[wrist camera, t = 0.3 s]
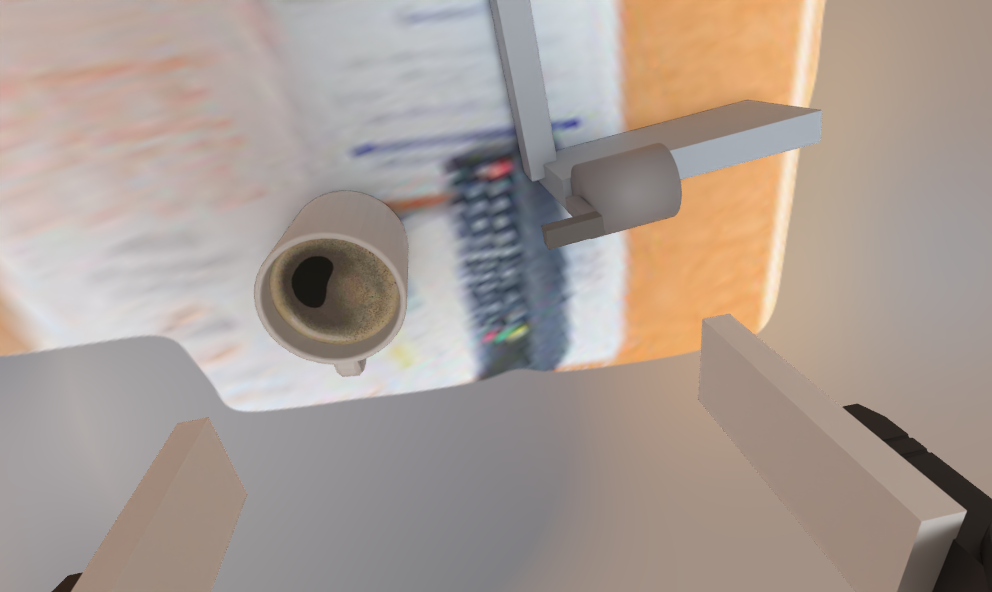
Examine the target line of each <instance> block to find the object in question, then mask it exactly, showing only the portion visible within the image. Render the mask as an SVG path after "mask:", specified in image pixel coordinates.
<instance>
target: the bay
mask: <svg viewBox="0 0 992 592" xmlns="http://www.w3.org/2000/svg"><path fill="white" fill-rule="evenodd" d="M489 1H490V6H491V11H492V16H493V21H494V26H495V30H496V35H497V40H498V45H499V50H500V55H501V60H502V65H503V70H504V75H505V80H506V85H507V90H508V95H509V100H510V105H511V109H512V114H513V119H514V124H515V129H516V134H517V139H518V144H519V149H520V154H521V159H522V164H523V169H524V173H525V174H526V175H527V176H528V177H529V178H530V179H531V180H532V181H536V180H539V182H540V183H541V184H542V185H543V186H544V187H545V188H546V189H547V190H548V191H549V192H550V193H551V194H552V195H553V196H554V197H555V198H556V200H557V201H558V202H559V203H560V204H561V205H562V206H563V207H564V208H565V209H566V210H567V211H568V212H569V213H570V214H571V215H572V216H573V217H572V218H568V219H564V220H560V221H557V222H553V223H549V224H546V225H542V226H541V227H542V232H543V237H544V242H545V244H546V246H547V247H548V249H549V250H550V249H553V248H557V247H561V246H564V245H568V244H572V243H575V242H579V241H583V240H586V239H593V238H597V237H600V236H604V235H608V234H611V233H615V232H619V231H622V230H626V229H630V228H633V227H637V226H641V225H644V224H648V223H652V222H656V221H659V220H663V219H667V218H670V217H674V216H675V215H676V214H677V213H678V211H679V209H680V205H681V197H682V191H681V181H680V180H681V179H685V178H689V177H693V176H696V175H700V174H704V173H707V172H711V171H715V170H719V169H722V168H726V167H730V166H733V165H737V164H741V163H745V162H748V161H752V160H756V159H759V158H763V157H767V156H771V155H774V154H778V153H782V152H785V151H789V150H793V149H797V148H800V147H804V146H808V145H811V144H815V143H819V142H820V137H821V122H822V110H817V109H810V108H803V107H796V106H788V105H781V104H774V103H766V102H759V101H752V100H745V101H741V102H737V103H734V104H730V105H726V106H722V107H719V108H715V109H711V110H707V111H703V112H700V113H696V114H692V115H688V116H685V117H681V118H677V119H673V120H670V121H666V122H662V123H658V124H654V125H651V126H647V127H643V128H639V129H636V130H632V131H628V132H624V133H621V134H617V135H613V136H609V137H605V138H602V139H598V140H594V141H590V142H587V143H583V144H579V145H575V146H572V147H568V148H564V149H560V150H557V151H555V146H554V140H553V134H552V128H551V122H550V116H549V110H548V105H547V99H546V93H545V87H544V81H543V75H542V69H541V64H540V58H539V52H538V46H537V40H536V34H535V28H534V23H533V17H532V11H531V5H530V0H489Z"/></svg>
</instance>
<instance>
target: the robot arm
mask: <svg viewBox="0 0 992 592" xmlns="http://www.w3.org/2000/svg"><path fill="white" fill-rule="evenodd" d="M698 400H699V401H700V402H701V404H702V405H703V406H704V407H705V409H706V410H707V411H708V412H709V413H710V415H711V416H712V417H713V418H714V420H715V421H716V422H717V423H718V424H719V426H720V427H721V428H722V429H723V431H724V432H725V433H726V434H727V435H728V437H729V438H730V439H731V440H732V441H733V443H734V444H735V445H736V446H737V448H738V449H739V450H740V451H741V453H742V454H743V455H744V456H745V457H746V459H747V460H748V461H749V462H750V464H751V465H752V466H753V467H754V468H755V470H756V471H757V472H758V473H759V474H760V476H761V477H762V478H763V479H764V481H765V482H766V483H767V484H768V486H769V487H770V488H771V489H772V490H773V491H774V493H775V494H776V495H777V496H778V498H779V499H780V500H781V501H782V502H783V504H784V505H785V506H786V507H787V509H788V510H789V511H790V512H791V514H792V515H793V516H794V517H795V518H796V520H797V521H798V522H799V523H800V525H801V526H802V527H803V528H804V529H805V531H806V532H807V533H808V534H809V536H810V537H811V538H812V539H813V540H814V542H815V543H816V544H817V545H818V546H819V548H820V549H821V550H822V551H823V553H824V554H825V555H826V556H827V557H828V559H829V560H830V561H831V562H832V564H833V565H834V566H835V567H836V568H837V570H838V571H839V572H840V573H841V575H842V576H843V577H844V578H845V579H846V581H847V582H848V583H849V584H850V586H851V587H852V588H853V589H854V591H855V592H992V499H991V498H990V497H989V496H987V495H986V494H985V493H983V492H982V491H981V490H980V489H978V488H977V487H976V486H974V485H973V484H972V483H970V482H969V481H968V480H967V479H965V478H964V477H963V476H961V475H960V474H959V473H958V472H956V471H955V470H954V469H952V468H951V467H950V466H949V465H947V464H946V463H945V462H943V461H942V460H941V459H940V458H938V457H937V456H935V455H934V454H933V453H929V452H928V451H927V449H926V448H925V447H924V446H923V445H921V444H920V443H919V442H917V441H916V440H915V439H914V438H909V436H908V434H907V433H906V432H904V431H903V430H902V429H901V428H899V427H898V426H897V425H896V424H894V423H893V422H892V421H890V420H889V419H888V418H886V417H885V416H883V415H880V414H879V413H876V412H874V411H872V410H870V409H868V408H866V407H864V406H861V405H859V404H853V405H848V406H844V407H841V406H840V405H839V404H838V403H836V402H835V401H834V400H833V399H832V398H830V397H829V396H828V395H827V394H826V393H824V392H823V391H822V390H821V389H820V388H818V387H817V386H816V385H815V384H814V383H812V382H811V381H810V380H809V379H807V378H806V377H805V376H804V375H803V374H801V373H800V372H799V371H798V370H797V369H795V368H794V367H793V366H792V365H791V364H789V363H788V362H787V361H786V360H785V359H783V358H782V357H781V356H780V355H779V354H777V353H776V352H775V351H774V350H773V349H771V348H770V347H769V346H768V345H766V344H765V343H764V342H763V341H762V340H760V339H759V338H758V337H757V336H756V335H754V334H753V333H752V332H751V331H750V330H748V329H747V328H746V327H745V326H744V325H742V324H741V323H740V322H739V321H738V320H736V319H735V318H734V317H733V316H732V315H730V314H726V315H721V316H716V317H710V318H705V319H703V321H702V339H701V358H700V376H699V394H698ZM246 497H247V493H246V491H245V489H244V487H243V485H242V483H241V481H240V479H239V477H238V475H237V473H236V471H235V469H234V467H233V465H232V463H231V461H230V459H229V457H228V455H227V453H226V451H225V449H224V447H223V445H222V443H221V441H220V439H219V437H218V435H217V433H216V431H215V429H214V427H213V425H212V423H211V421H210V419H209V418H208V417H207V418H202V419H197V420H192V421H188V422H182V423H178V424H177V425H176V427H175V428H174V430H173V431H172V433H171V435H170V436H169V438H168V440H167V441H166V443H165V444H164V446H163V448H162V449H161V450H160V452H159V454H158V455H157V457H156V458H155V460H154V461H153V463H152V465H151V466H150V468H149V469H148V471H147V473H146V474H145V476H144V477H143V479H142V480H141V482H140V483H139V485H138V487H137V488H136V490H135V491H134V493H133V495H132V496H131V498H130V499H129V501H128V502H127V504H126V506H125V507H124V509H123V510H122V512H121V513H120V515H119V517H118V518H117V520H116V521H115V523H114V524H113V526H112V528H111V530H110V531H109V532H108V534H107V536H106V537H105V539H104V540H103V542H102V543H101V545H100V547H99V548H98V550H97V551H96V553H95V554H94V556H93V558H92V559H91V561H90V562H89V564H88V566H87V567H86V569H85V570H84V572H83V573H78V574H73V575H69V576H67V577H66V578H65V579H64V580H63V581H62V582H61V583H60V584H59V585H58V586H57V587H56V588H55V589H54V590H53V591H52V592H211V590H212V587H213V585H214V582H215V580H216V577H217V574H218V572H219V569H220V566H221V563H222V561H223V558H224V555H225V553H226V550H227V548H228V545H229V542H230V539H231V537H232V534H233V531H234V529H235V526H236V523H237V521H238V518H239V515H240V512H241V510H242V507H243V505H244V502H245V499H246Z"/></svg>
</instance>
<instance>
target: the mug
mask: <svg viewBox="0 0 992 592" xmlns="http://www.w3.org/2000/svg"><path fill="white" fill-rule="evenodd" d="M407 279H408V240H407V235H406V232H405V229H404V227H403V225H402V223H401V221H400V220H399V218H398V217H397V216H396V214H395V213H394V212H393V211H392V210H391V209H390V208H389V207H388V206H387V205H385V204H384V203H382V202H381V201H380V200H378V199H376V198H374V197H372V196H369V195H366V194H364V193H359V192H354V191H336V192H331V193H327V194H324V195H322V196H319V197H317V198H315V199H314V200H312V201H311V202H309V203H308V204H307V205H306V206H305V207H304V208H303V209H302V210H301V211H300V212H299V214H298V215H297V217H296V218H295V219H294V221H293V222H292V224H291V225H290V226H289V228H288V229H287V231H286V232H285V233H284V235H283V236H282V237H281V239H280V240H279V242H278V243H277V244H276V246H275V247H274V249H273V250H272V251H271V253H270V254H269V256H268V257H267V258H266V260H265V261H264V262H263V264H262V265H261V268H260V270H259V272H258V274H257V278H256V282H255V287H254V299H255V307H256V310H257V313H258V316H259V318H260V320H261V322H262V324H263V326H264V328H265V329H266V330H267V332H268V333H269V334H270V336H271V337H272V338H273V339H274V340H275V341H276V342H277V343H278V344H279V345H281V346H282V347H284V348H285V349H286V350H288V351H289V352H291V353H293V354H295V355H297V356H299V357H301V358H304V359H306V360H309V361H314V362H318V363H324V364H334V366H335V369H336V371H337V372H338V373H339V374H340V375H341V376H342V377H345V376H357V375H360V374H361V373H362V372H363V370H364V368H365V364H366V358H368V357H370V356H372V355H374V354H376V353H377V352H379V351H380V350H382V349H383V348H384V347H385V346H387V345H388V344H389V343H390V342H391V341H392V340H393V338H394V337H395V336H396V335H397V333H398V331H399V330H400V328H401V326H402V324H403V321H404V318H405V314H406V309H407Z"/></svg>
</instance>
